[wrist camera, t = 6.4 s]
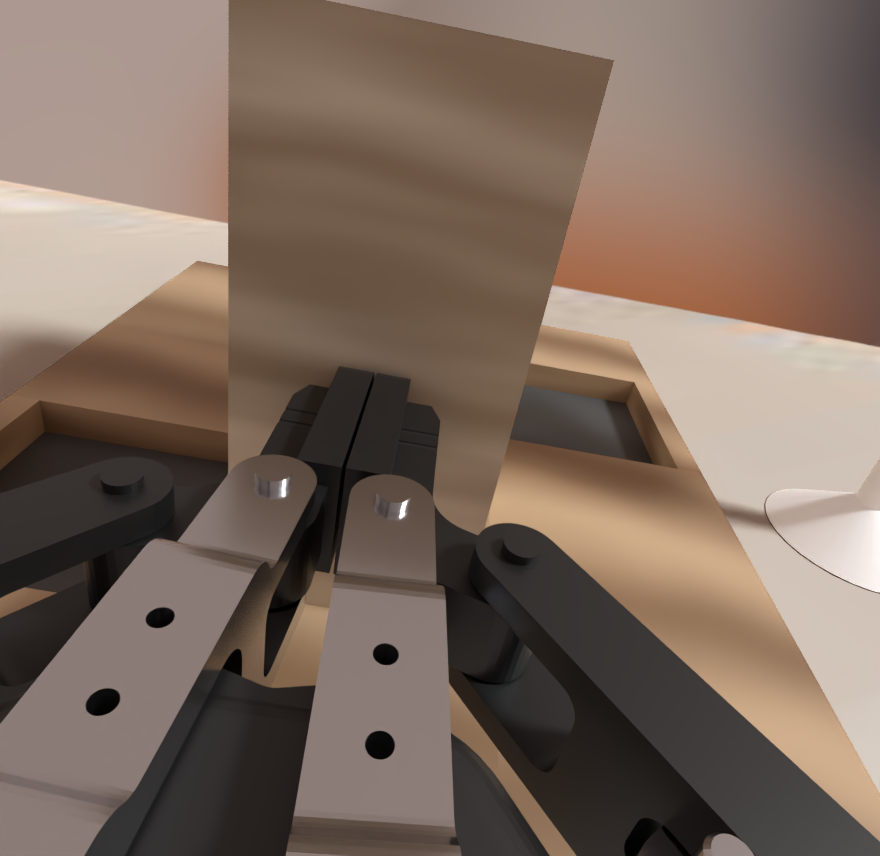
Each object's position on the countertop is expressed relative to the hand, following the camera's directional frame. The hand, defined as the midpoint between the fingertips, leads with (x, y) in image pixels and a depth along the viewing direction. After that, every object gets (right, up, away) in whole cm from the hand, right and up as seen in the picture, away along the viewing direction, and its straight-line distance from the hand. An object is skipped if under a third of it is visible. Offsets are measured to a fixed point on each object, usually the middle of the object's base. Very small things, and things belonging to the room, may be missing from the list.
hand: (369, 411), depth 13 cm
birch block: (-1, -2, +9) cm, 9 cm away
